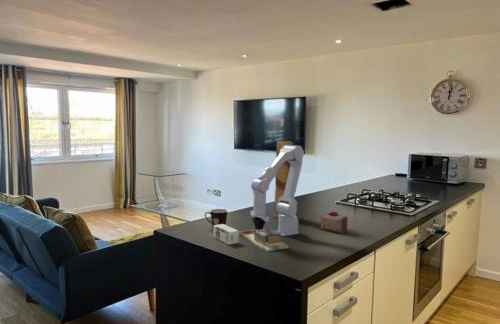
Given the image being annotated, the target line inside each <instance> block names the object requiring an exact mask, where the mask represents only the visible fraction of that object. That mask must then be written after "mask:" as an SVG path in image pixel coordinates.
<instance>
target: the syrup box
mask: <svg viewBox="0 0 500 324" xmlns="http://www.w3.org/2000/svg"><path fill="white" fill-rule="evenodd" d="M212 232H213V233H212V234H213V238H215V239H216V240H219V241H221V242H223V243H224V244H227V245H235V244H239V243H240V241H239V239H240V236H239V232H240V231H239V230H238V229H236V228H233V227H231V226H228V225H227V224H226V225H224V224H218V225H213V229H212Z"/></svg>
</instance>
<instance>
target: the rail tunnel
mask: <svg viewBox="0 0 500 324" xmlns="http://www.w3.org/2000/svg"><path fill="white" fill-rule="evenodd" d="M271 235H278V236H279V245H273V246H269V245H267V244H265V237H266V236H271ZM281 236H282V235H281V232H279V231H278V230H273V229H269V231H268V230H266V232H260V233H258V232H256V229H251V230H243V231H239V237H242V238H243V239H245V240H247V241H248V242H249V243H252V244H254V245H255V246H257V247H258V248H260V249H262V250H264V251H266V252H272V251H279V250H285V249H289V247H290V246H289V245H288V244H286V242H285V243H284V242H282V241H281V238H282V237H281Z"/></svg>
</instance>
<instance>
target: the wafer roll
mask: <svg viewBox="0 0 500 324" xmlns="http://www.w3.org/2000/svg"><path fill="white" fill-rule="evenodd" d="M284 145H291V146H295V145H294V142H293V141H290V140H286V141H283V140H278V141H277V142H276V151H275V152H276V156H275V159H276V158H277V157H278V155H279V154H280V150H281V149H282V147H283V146H284ZM290 166H291V165H290V163H289V162H288V161H287V160H286V161H285V162H284V163H283V164H282V165H281V166H280V168H279V169H278V170H277V171H276V176H275V177H274V178H275V184H274V185H275V191H274V209H273V211H274V213H273V214H274V216H273V217H274V218H277V219H279V215H278V213H277V211H276V204H277V203H278V201H279V198H280V197H282V196H283V195H284V191H285V186H286V182H287V178H288V174H289V170H290ZM286 203H289V202H286Z"/></svg>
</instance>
